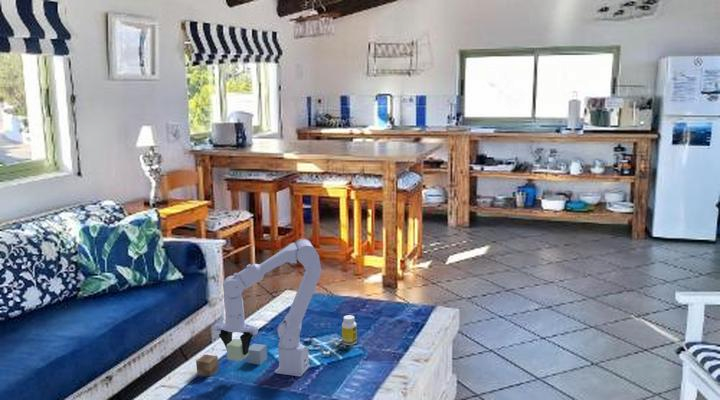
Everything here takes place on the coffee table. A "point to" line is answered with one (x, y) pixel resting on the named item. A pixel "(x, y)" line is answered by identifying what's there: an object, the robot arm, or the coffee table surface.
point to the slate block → (257, 354)
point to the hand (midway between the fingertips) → (238, 352)
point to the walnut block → (207, 365)
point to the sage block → (235, 350)
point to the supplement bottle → (349, 330)
